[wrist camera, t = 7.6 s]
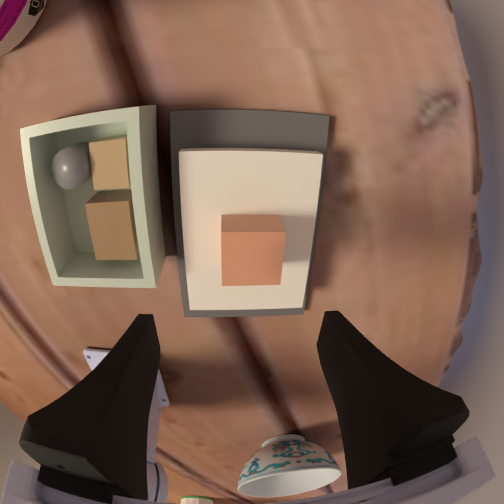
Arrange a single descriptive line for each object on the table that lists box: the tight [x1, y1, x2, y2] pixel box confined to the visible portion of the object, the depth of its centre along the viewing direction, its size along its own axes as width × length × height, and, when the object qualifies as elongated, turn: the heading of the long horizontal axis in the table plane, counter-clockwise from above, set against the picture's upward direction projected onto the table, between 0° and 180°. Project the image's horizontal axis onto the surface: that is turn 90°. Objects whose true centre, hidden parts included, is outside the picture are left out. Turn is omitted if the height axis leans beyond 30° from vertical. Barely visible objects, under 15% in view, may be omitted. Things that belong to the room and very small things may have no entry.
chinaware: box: [238, 434, 342, 497], centre depth 36 cm, size 15×15×8 cm
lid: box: [179, 148, 323, 310], centre depth 19 cm, size 11×8×4 cm
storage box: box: [20, 105, 166, 288], centre depth 17 cm, size 11×8×4 cm
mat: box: [170, 109, 329, 317], centre depth 21 cm, size 16×10×1 cm, turn 178°
